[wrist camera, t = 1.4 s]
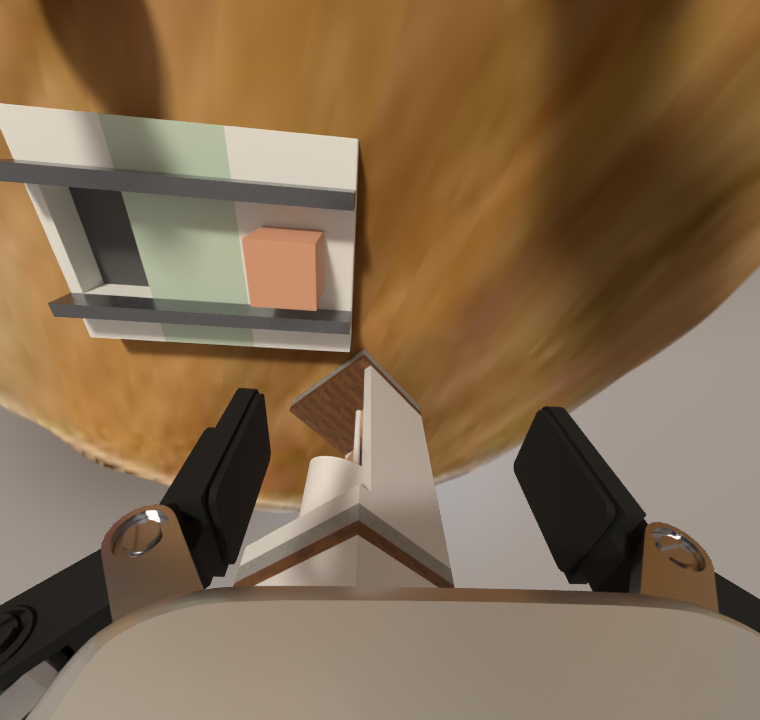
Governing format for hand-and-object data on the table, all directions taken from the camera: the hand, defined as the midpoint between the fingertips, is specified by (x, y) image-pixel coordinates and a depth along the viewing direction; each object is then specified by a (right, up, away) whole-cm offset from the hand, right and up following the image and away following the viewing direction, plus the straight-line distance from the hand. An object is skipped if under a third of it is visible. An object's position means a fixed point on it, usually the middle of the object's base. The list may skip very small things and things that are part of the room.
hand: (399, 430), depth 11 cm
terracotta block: (-8, +11, +17) cm, 22 cm away
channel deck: (-16, +13, +19) cm, 28 cm away
